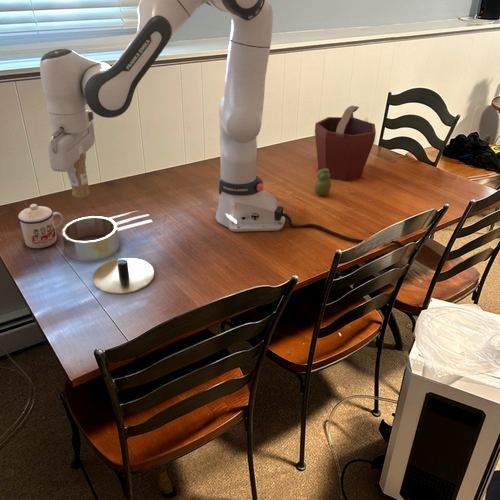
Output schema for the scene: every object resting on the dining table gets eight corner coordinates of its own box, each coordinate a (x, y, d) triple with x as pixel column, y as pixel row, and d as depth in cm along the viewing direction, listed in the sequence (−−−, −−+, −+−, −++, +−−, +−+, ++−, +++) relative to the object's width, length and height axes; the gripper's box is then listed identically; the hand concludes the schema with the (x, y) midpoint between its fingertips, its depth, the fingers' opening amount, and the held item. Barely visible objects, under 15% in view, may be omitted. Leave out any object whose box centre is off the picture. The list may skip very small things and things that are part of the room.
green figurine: (321, 199, 170) (325, 173, 165) (310, 194, 174) (313, 168, 168) (332, 195, 174) (335, 169, 168) (321, 190, 177) (324, 164, 172)
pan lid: (160, 263, 134) (159, 247, 131) (145, 298, 120) (144, 281, 118) (104, 259, 134) (102, 243, 132) (84, 293, 121) (81, 277, 118)
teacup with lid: (34, 253, 136) (25, 216, 130) (18, 240, 141) (9, 204, 135) (73, 237, 143) (66, 202, 137) (57, 226, 149) (50, 192, 142)
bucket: (331, 156, 206) (339, 96, 192) (380, 169, 195) (392, 107, 182) (301, 174, 189) (307, 110, 175) (353, 190, 178) (364, 122, 165)
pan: (125, 237, 145) (123, 218, 141) (109, 264, 132) (107, 244, 129) (77, 233, 146) (74, 214, 142) (57, 260, 133) (53, 240, 130)
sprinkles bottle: (92, 195, 128) (84, 146, 121) (75, 199, 126) (66, 150, 119) (87, 189, 132) (79, 141, 124) (70, 192, 129) (60, 144, 122)
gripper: (64, 136, 109) (74, 192, 117) (95, 110, 127) (102, 160, 134) (36, 134, 110) (48, 190, 117) (72, 108, 127) (80, 158, 134)
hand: (77, 174), depth 126 cm, fingers closed on sprinkles bottle, 4 cm apart
